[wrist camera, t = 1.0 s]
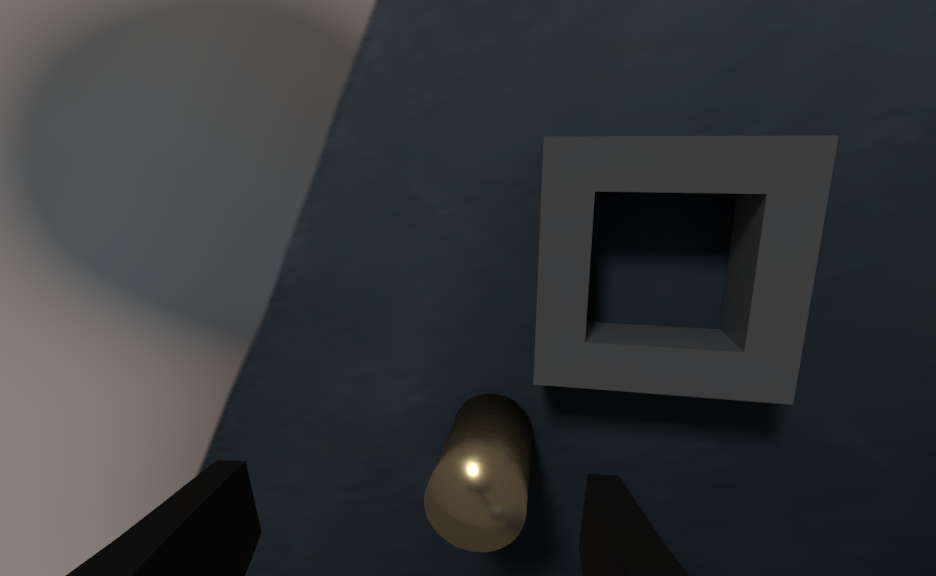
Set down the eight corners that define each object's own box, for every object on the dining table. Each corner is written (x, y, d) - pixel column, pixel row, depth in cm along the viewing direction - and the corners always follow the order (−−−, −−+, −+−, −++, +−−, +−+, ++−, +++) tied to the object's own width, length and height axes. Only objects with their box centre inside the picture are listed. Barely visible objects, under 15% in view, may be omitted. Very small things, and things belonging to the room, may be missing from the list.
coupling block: (761, 374, 22) (793, 404, 19) (535, 359, 24) (533, 384, 21) (797, 141, 20) (838, 135, 17) (545, 142, 21) (543, 136, 18)
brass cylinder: (531, 470, 25) (524, 558, 19) (453, 462, 26) (424, 545, 20) (534, 397, 24) (527, 466, 18) (454, 390, 25) (423, 455, 19)
